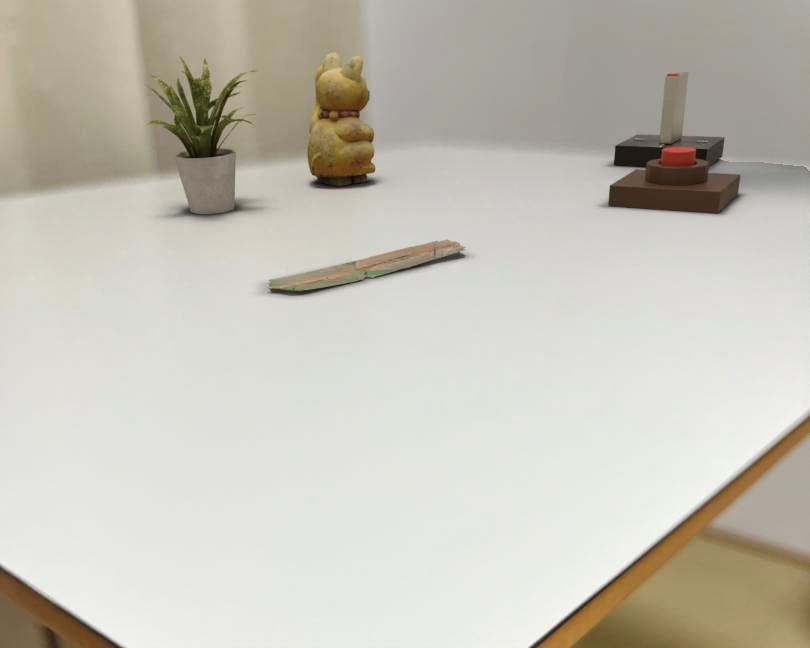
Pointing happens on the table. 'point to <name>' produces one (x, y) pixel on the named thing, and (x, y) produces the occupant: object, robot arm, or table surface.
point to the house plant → (203, 142)
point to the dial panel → (648, 147)
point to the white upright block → (673, 107)
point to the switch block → (675, 188)
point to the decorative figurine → (340, 124)
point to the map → (368, 266)
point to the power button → (678, 156)
